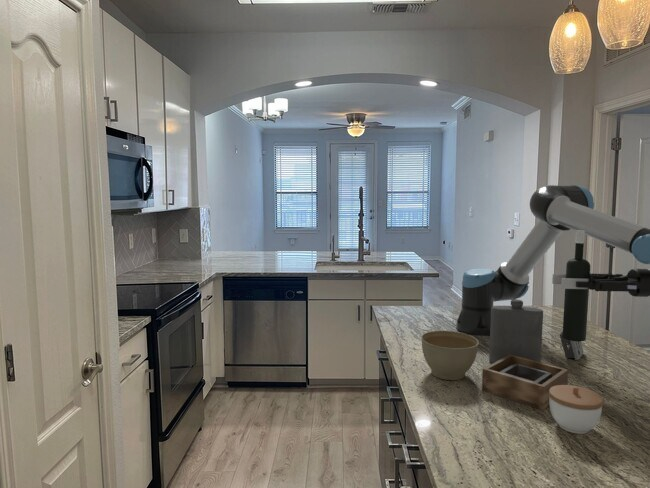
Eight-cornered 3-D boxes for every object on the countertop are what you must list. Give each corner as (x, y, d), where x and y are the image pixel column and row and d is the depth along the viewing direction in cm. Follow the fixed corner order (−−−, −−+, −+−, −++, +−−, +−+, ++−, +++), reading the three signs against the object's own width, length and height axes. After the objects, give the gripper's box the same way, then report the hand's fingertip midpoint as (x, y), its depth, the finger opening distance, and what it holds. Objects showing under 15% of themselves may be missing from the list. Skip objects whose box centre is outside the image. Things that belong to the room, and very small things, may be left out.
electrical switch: (578, 361, 144) (576, 332, 144) (560, 359, 148) (558, 331, 147) (583, 353, 152) (582, 326, 151) (566, 351, 155) (565, 324, 154)
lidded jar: (538, 416, 109) (540, 378, 108) (580, 414, 110) (583, 377, 109) (565, 440, 98) (567, 399, 97) (612, 438, 99) (615, 397, 98)
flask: (538, 361, 144) (541, 299, 142) (542, 368, 139) (545, 304, 136) (488, 357, 148) (490, 297, 146) (489, 364, 142) (492, 301, 140)
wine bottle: (562, 339, 125) (568, 230, 122) (562, 334, 130) (568, 229, 127) (586, 342, 123) (593, 231, 119) (585, 336, 128) (592, 230, 125)
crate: (481, 390, 123) (482, 368, 123) (508, 374, 134) (509, 354, 134) (542, 410, 112) (544, 386, 111) (567, 391, 123) (568, 369, 122)
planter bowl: (437, 389, 124) (438, 350, 123) (411, 367, 140) (411, 332, 138) (489, 382, 128) (490, 345, 127) (457, 362, 144) (458, 328, 143)
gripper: (668, 304, 114) (570, 302, 117) (628, 289, 132) (544, 287, 135) (671, 275, 113) (572, 273, 116) (629, 263, 132) (545, 262, 134)
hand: (557, 281), depth 125 cm, fingers closed on wine bottle, 6 cm apart
